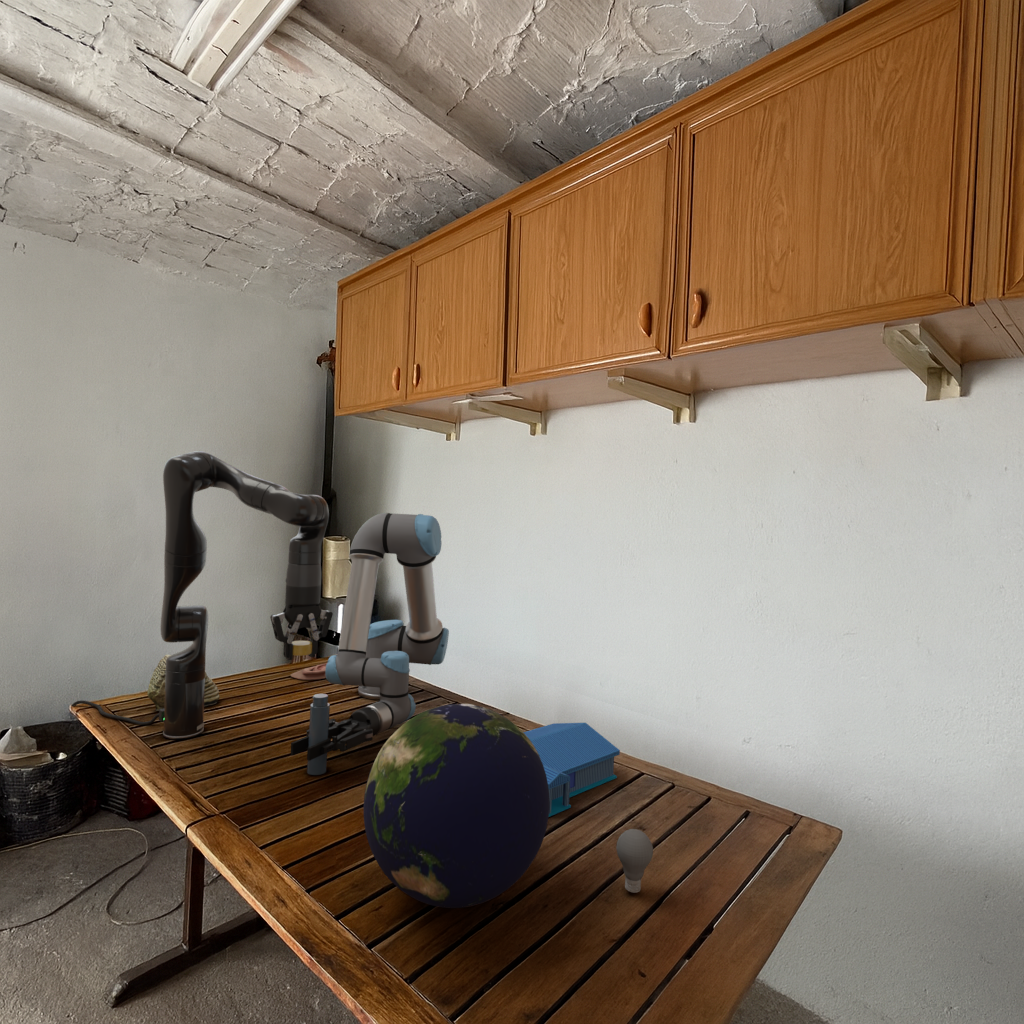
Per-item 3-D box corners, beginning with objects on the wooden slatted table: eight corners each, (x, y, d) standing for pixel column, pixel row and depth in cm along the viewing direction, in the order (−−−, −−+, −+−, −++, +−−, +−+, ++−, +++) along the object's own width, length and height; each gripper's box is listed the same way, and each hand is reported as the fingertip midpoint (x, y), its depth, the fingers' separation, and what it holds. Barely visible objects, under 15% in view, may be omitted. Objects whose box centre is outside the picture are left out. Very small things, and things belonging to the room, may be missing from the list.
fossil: (144, 707, 182) (145, 655, 182) (212, 696, 194) (213, 647, 194) (151, 716, 175) (153, 662, 175) (221, 703, 188) (223, 653, 188)
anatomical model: (285, 666, 217) (303, 658, 228) (285, 677, 217) (303, 669, 228) (321, 670, 214) (337, 661, 225) (321, 681, 214) (337, 673, 225)
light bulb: (610, 879, 108) (613, 822, 108) (644, 879, 109) (647, 822, 109) (619, 902, 102) (622, 840, 102) (655, 901, 103) (658, 840, 103)
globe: (319, 919, 95) (326, 721, 95) (420, 827, 123) (427, 673, 122) (502, 984, 84) (511, 760, 83) (568, 867, 112) (576, 698, 111)
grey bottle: (312, 766, 148) (316, 692, 148) (329, 768, 148) (333, 694, 148) (303, 774, 144) (307, 697, 144) (321, 776, 143) (325, 699, 143)
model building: (501, 837, 120) (504, 785, 120) (427, 790, 139) (429, 744, 138) (628, 782, 147) (630, 739, 147) (552, 748, 165) (553, 710, 165)
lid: (291, 656, 140) (291, 646, 140) (287, 651, 144) (288, 641, 144) (313, 654, 142) (314, 644, 142) (309, 649, 147) (310, 639, 147)
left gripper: (277, 587, 135) (274, 666, 136) (340, 583, 145) (337, 657, 145) (265, 582, 141) (262, 658, 142) (326, 579, 150) (323, 650, 151)
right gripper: (396, 743, 158) (328, 777, 137) (343, 728, 166) (271, 759, 145) (397, 713, 158) (330, 743, 137) (344, 700, 166) (273, 726, 145)
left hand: (300, 657), depth 143 cm, fingers closed on lid, 4 cm apart
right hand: (300, 751), depth 141 cm, fingers closed on grey bottle, 4 cm apart
